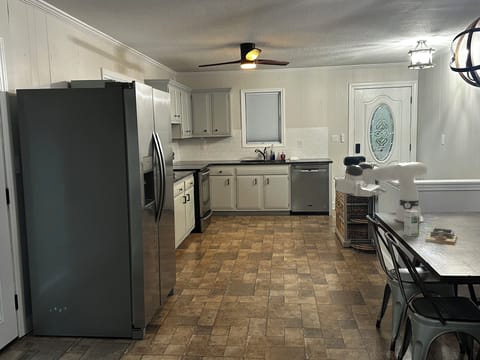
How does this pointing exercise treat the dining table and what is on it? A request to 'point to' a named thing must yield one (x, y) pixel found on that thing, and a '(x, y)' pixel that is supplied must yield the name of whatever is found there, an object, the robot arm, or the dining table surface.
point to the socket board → (449, 240)
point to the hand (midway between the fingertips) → (383, 192)
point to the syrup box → (411, 223)
